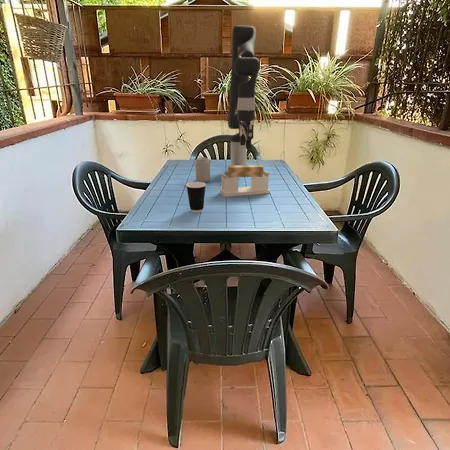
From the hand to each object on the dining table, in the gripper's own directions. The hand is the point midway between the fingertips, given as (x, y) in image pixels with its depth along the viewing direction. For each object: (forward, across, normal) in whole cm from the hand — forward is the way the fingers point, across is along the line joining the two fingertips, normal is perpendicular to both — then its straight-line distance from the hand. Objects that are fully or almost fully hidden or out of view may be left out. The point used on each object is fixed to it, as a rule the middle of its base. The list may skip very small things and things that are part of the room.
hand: (245, 146), depth 156 cm
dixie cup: (+21, +19, -26) cm, 39 cm away
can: (+22, -26, -15) cm, 37 cm away
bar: (+13, 0, 0) cm, 13 cm away
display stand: (+21, 0, 0) cm, 21 cm away
